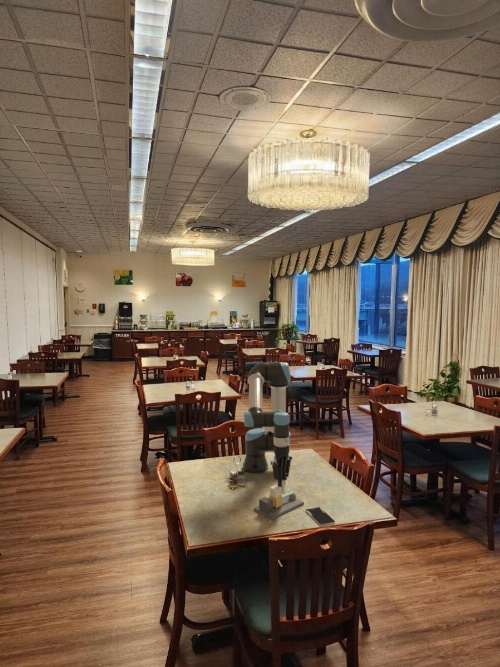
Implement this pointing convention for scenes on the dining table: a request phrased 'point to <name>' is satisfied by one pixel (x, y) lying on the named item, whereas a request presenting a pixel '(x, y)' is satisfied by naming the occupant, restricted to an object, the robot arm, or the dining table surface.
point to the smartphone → (320, 516)
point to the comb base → (288, 504)
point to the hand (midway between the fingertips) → (281, 492)
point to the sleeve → (276, 495)
